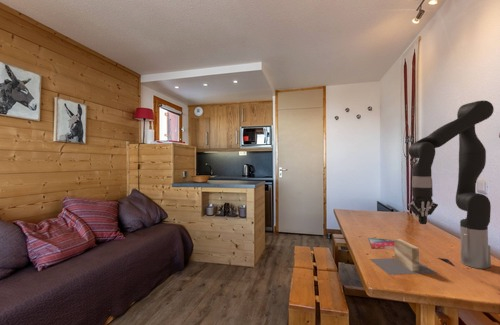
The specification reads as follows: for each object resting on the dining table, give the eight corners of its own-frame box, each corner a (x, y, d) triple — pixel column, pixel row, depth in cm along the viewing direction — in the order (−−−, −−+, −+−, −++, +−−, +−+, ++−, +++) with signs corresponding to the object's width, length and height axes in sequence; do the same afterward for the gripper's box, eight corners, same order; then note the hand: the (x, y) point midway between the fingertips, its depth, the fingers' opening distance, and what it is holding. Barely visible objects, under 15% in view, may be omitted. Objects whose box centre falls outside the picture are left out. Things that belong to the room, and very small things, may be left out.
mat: (411, 259, 115) (411, 257, 115) (438, 275, 99) (438, 273, 99) (369, 261, 115) (369, 259, 115) (388, 276, 99) (388, 274, 99)
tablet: (403, 241, 143) (403, 240, 143) (415, 257, 119) (415, 255, 119) (367, 238, 150) (367, 237, 150) (372, 252, 126) (372, 251, 126)
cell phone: (412, 256, 120) (412, 254, 120) (448, 261, 114) (448, 259, 114) (415, 262, 113) (415, 260, 113) (454, 267, 107) (454, 265, 107)
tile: (401, 259, 113) (400, 239, 113) (419, 271, 101) (419, 248, 101) (394, 260, 113) (394, 239, 113) (412, 271, 101) (411, 248, 101)
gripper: (429, 185, 111) (430, 221, 111) (402, 185, 111) (403, 222, 111) (443, 186, 104) (443, 225, 104) (413, 187, 104) (414, 226, 103)
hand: (422, 223), depth 107 cm, fingers closed
